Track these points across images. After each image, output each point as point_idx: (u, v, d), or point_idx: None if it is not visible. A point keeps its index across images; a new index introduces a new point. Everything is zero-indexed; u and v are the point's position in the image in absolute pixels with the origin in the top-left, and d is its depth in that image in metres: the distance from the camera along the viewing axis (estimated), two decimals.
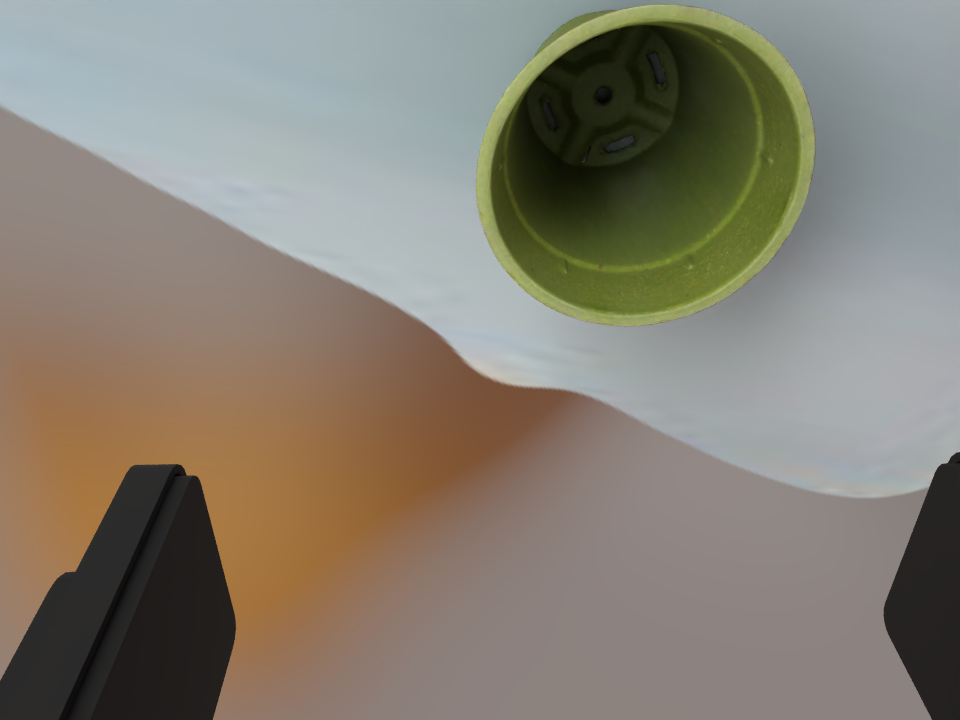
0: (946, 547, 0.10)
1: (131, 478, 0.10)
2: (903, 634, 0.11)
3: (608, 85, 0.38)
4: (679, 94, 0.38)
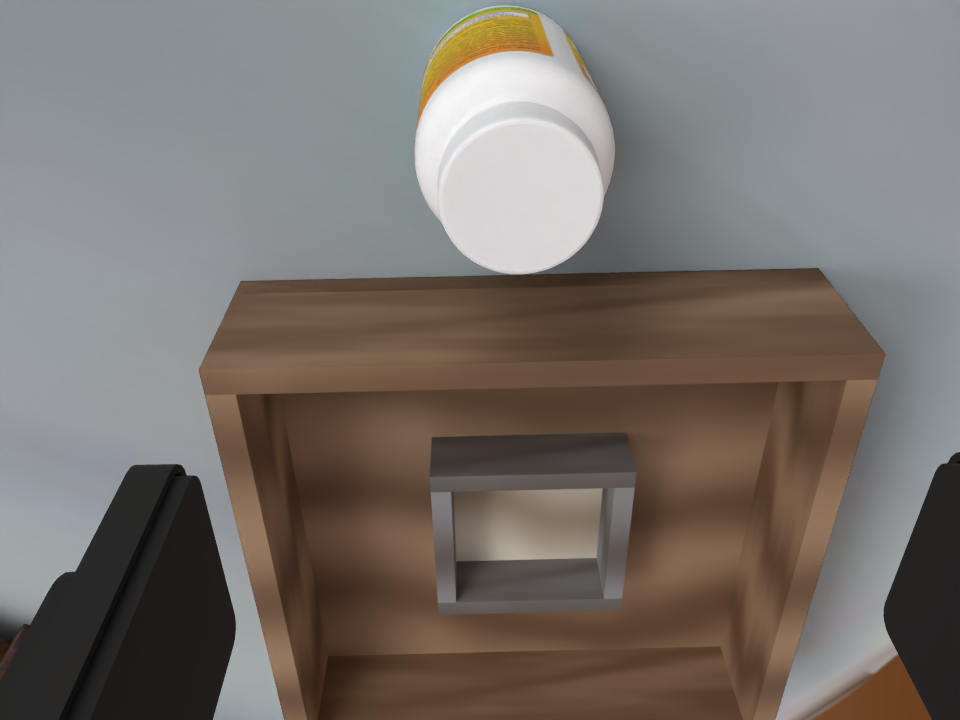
0: (946, 547, 0.10)
1: (131, 478, 0.10)
2: (903, 634, 0.11)
3: None
4: None
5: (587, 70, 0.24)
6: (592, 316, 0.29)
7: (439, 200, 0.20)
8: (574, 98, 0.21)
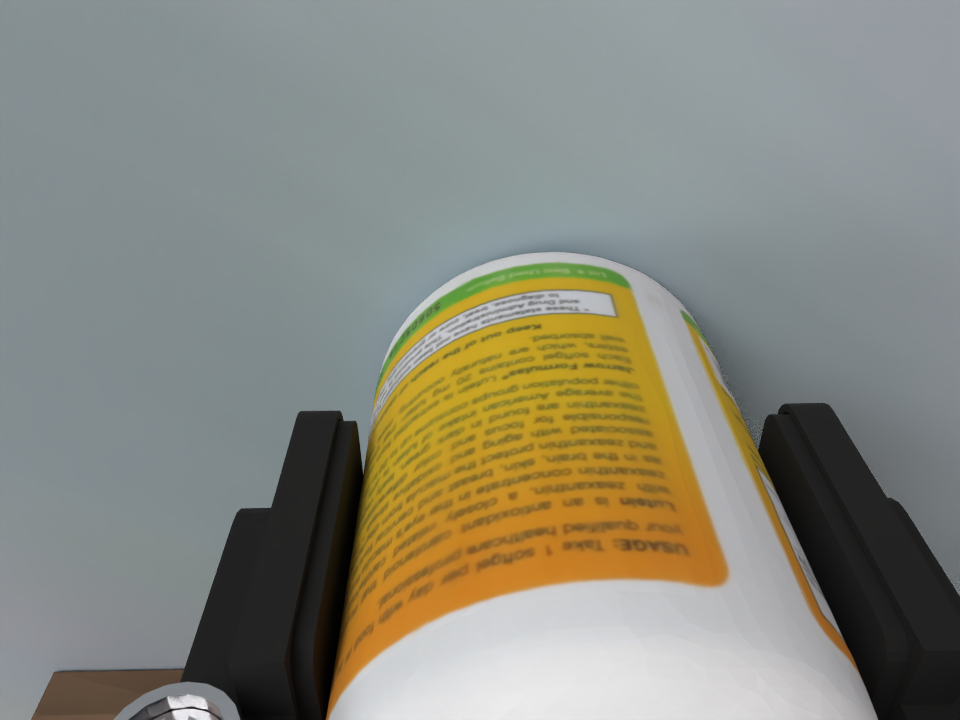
0: None
1: (301, 422, 0.10)
2: None
3: None
4: None
5: (764, 467, 0.10)
6: None
7: None
8: None
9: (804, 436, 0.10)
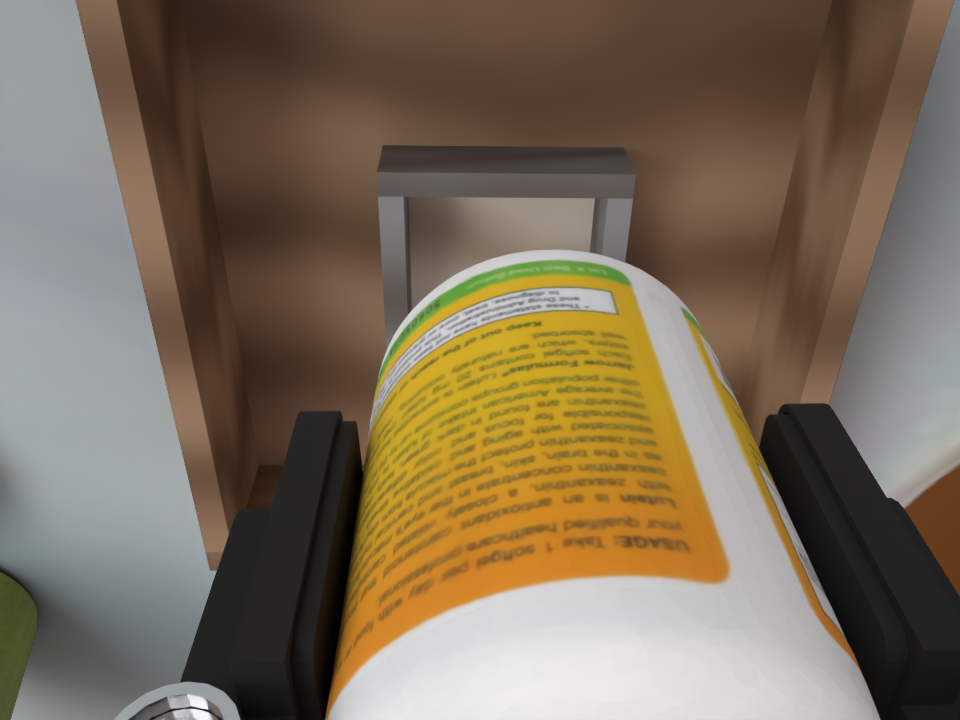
0: None
1: (301, 422, 0.10)
2: None
3: None
4: None
5: (764, 464, 0.10)
6: None
7: None
8: None
9: (804, 436, 0.10)
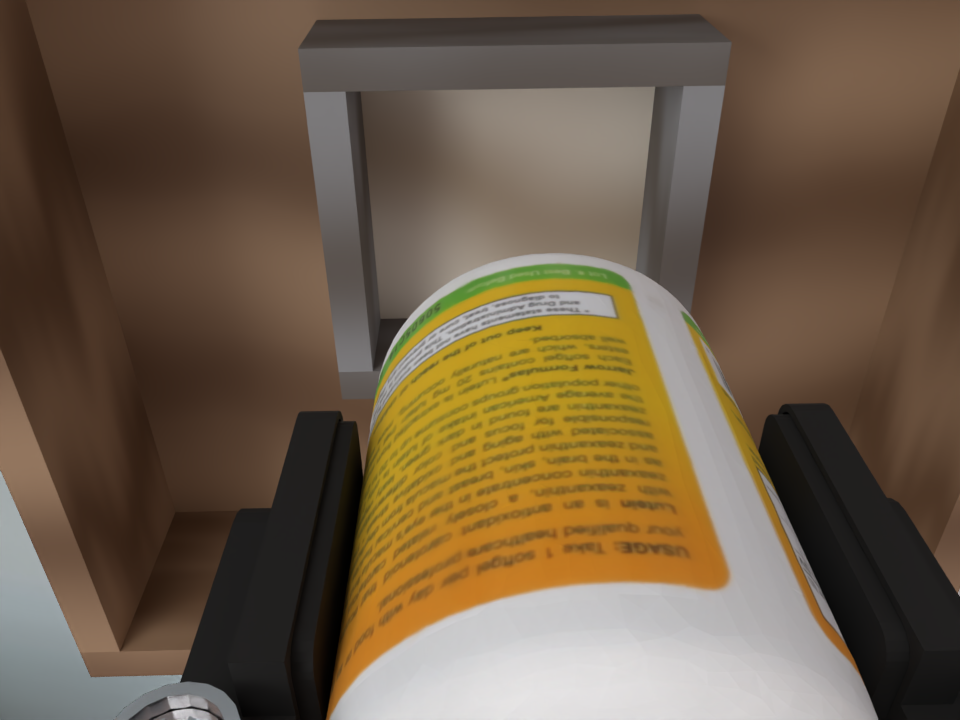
0: None
1: (301, 422, 0.10)
2: None
3: None
4: None
5: (765, 469, 0.10)
6: None
7: None
8: None
9: (804, 436, 0.10)
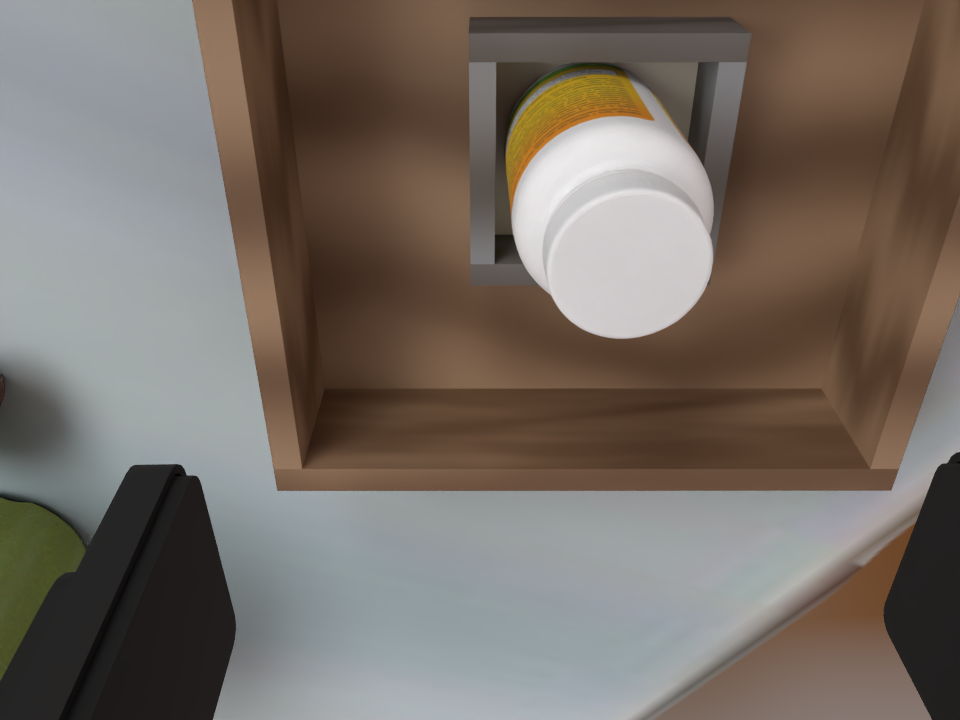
0: (946, 547, 0.10)
1: (131, 478, 0.10)
2: (905, 635, 0.11)
3: None
4: None
5: None
6: None
7: (548, 268, 0.20)
8: (678, 163, 0.21)
9: None
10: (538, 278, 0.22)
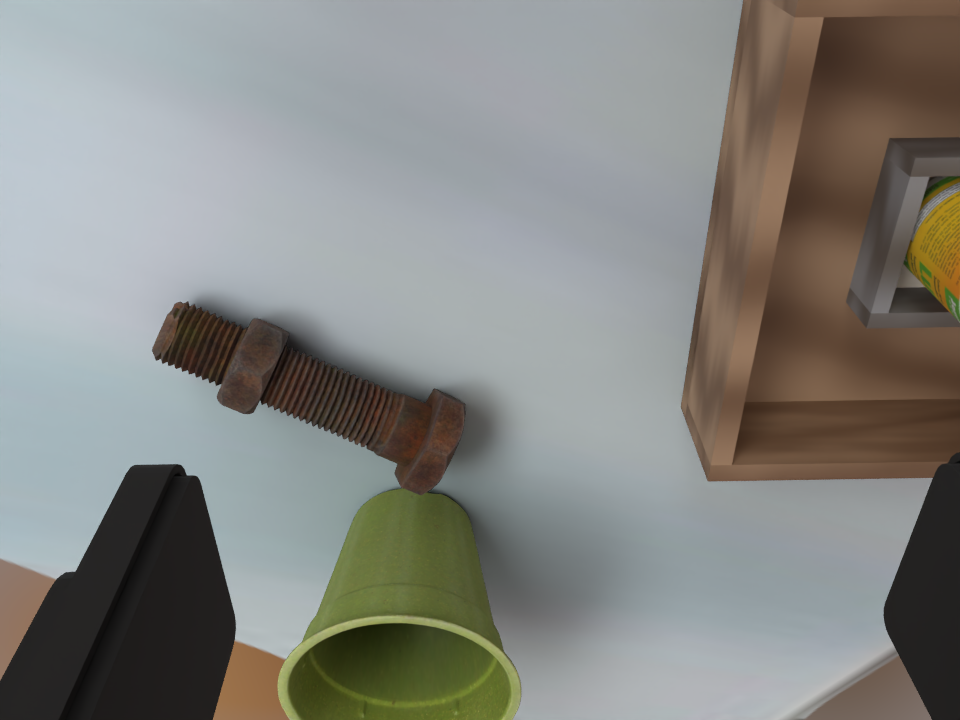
0: (946, 547, 0.10)
1: (131, 478, 0.10)
2: (904, 636, 0.11)
3: None
4: None
5: None
6: None
7: None
8: None
9: None
10: None
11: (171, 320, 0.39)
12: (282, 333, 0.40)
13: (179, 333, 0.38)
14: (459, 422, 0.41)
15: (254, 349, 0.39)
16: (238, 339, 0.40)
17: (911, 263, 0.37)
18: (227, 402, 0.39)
